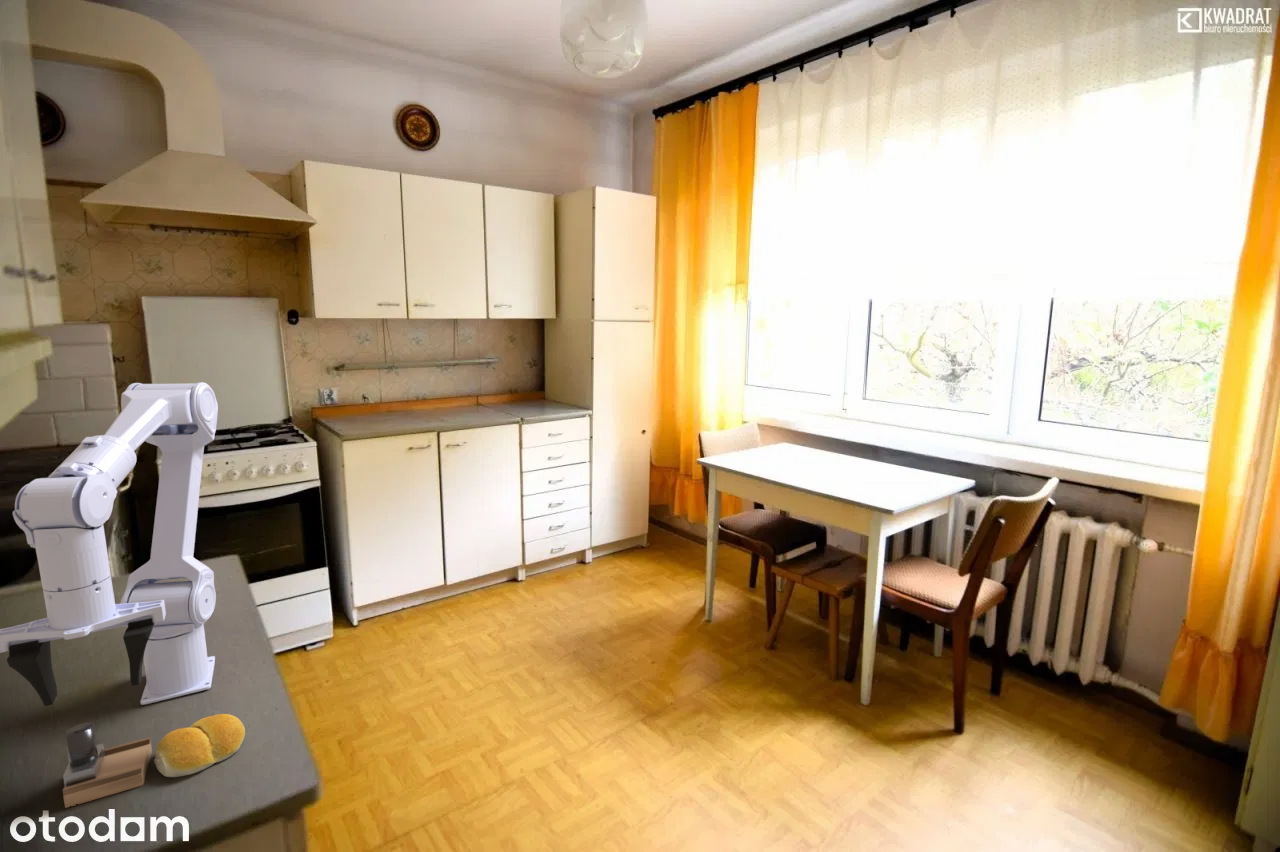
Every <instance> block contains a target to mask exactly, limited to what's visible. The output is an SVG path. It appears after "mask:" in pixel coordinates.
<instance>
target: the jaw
mask: <svg viewBox="0 0 1280 852" xmlns="http://www.w3.org/2000/svg"><path fill="white" fill-rule="evenodd" d="M64 737H65V744H66V750H67V755H68V761H69V762H68V764H67V766H66V769H65V770H64V773H63V778H62V779H63V784H64V787H67V786H71V785H75V784H78V783H82V782H85V781H89V780H92V779H96V778H97V776H98V773H99V770H100V767H101V765H102V762H103V759H104V757H105V750H104V749H105V744H104V742H102V743H100V744H98V743H97V740H96V733H95V725H94V723H92V722H84V723H83V722H82V723H80V724H76V725H73V726H72V727H70V728H69V729H67V730H66V731H65V733H64Z"/></svg>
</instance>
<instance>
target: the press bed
mask: <svg viewBox="0 0 1280 852" xmlns="http://www.w3.org/2000/svg"><path fill="white" fill-rule="evenodd" d="M104 750H105V757H104V759H103V762H102V765H101V767H100V770H99V773H98V776H97V778H96V779H92V780H89V781H85V782H82V783H78V784H75V785H71V786H67V787H65V786H63V789H62V793H63V802H64V808H65V809H67V808H70V806H71V807H73V806H77V805H76V804H78V805H81V804H83V803H88V802H91V801H93V800H97V799H101V798H104V797H108V796H112V795H114V794H118V793H122V792H124V791H127V790H132V789H134V788H139V787H141V786H144V784H145V779H146V775H147V772H148V768H149V765H150V760H151V757H152V753H153V749H152V742H151V737H150V736H148V737H145V738H140V739H136V740H133V741H129V742H124V743H121V744H118V745H115V746H110V747H105V748H104Z"/></svg>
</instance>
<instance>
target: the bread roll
mask: <svg viewBox="0 0 1280 852" xmlns="http://www.w3.org/2000/svg"><path fill="white" fill-rule="evenodd" d="M245 734H246V729H245V726H244V724H243V722H242V721H241V720H240V718H238V717H237V716H235V715H232V714H229V713H219V714H214V715H209V716H206V717H203V718H201V719H198V720H197V721H195V722H194V723H192V724H191V725H190V726H189V727H180V728H177V729H173V730H171V731H169V732H168V733H166V734H165V735H164V736H163V737H162V738H161V740H160V741H158V744H157V747H156V752H155V758H154V760H153V762H154V766H155V767H156V769H157V770H158V772H159V773H160V774H161V775H163V777H166V778H179V777H184V776H185V777H186V776H190V775H193V774H196V773H200V772H201V771H203V770H205V769H207V768H210V767H211V766H213V765H214V764H215V763H221V762H222V761H224V760H226V759H228V758H231V756H233V755H235V754H236V753H237V752H238V751H239V749H240V748H241V746H242V743H243V741H244V739H245V737H246V736H245Z"/></svg>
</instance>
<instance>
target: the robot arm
mask: <svg viewBox="0 0 1280 852" xmlns="http://www.w3.org/2000/svg"><path fill="white" fill-rule="evenodd" d="M120 407H121V410H120V413H119V414H118V415H117V417H116V418H115V419H114V421H113V422H112V423H111V425H109V427H108V428H107V430H106V431H105V433H104V434H102V435H100V434H99V435H93V436H86V437H85V438H84V439H83V440H82V441H81V442H80V444H79V445H78V446H77V447H76V448H75V449H74V451H72V452H71V454H70V455H68V456H67V457H66V458H65V460H63V461H62V462H61V464H60V465H58V466H57V467H56V468H55V470H53V472H52V473H50V474H49V475H48V476H47V477H40V478H35V479H33V480H31V481H30V482H29V483H27V484H25V485H24V486H22V487H21V488H20V490H19V491H18V493H17V494H16V497H15V502H14V510H12V517H13V519H14V521H15V523H16V525H17V526H18V527H19V529H20V530H22V531H23V532H24V534H25V536H26V537H25V538H26V542H27V545H29V546H30V548H33V549H35V553H36V558H37V563H38V569H39V575H40V582H41V586H42V588H41V589H42V591H43V592H42V593H43V598H44V604H45V610H46V617H45V618H41V619H35V620H33V621H30V622H25V623H23V624H17V625H14V626H9V627H6V628H5V627H4V628H0V653H1V654H2V653H6V652H9V653H8V657H7V658H6V662H7V666H9V668H12V670H14V671H15V672H17V673H18V674H20V675H21V676H22V677H23V678H25V680H26V681H27V682H28V683H29V684H30V685H31V686H32V688H33V689H34V691H35V692H36V693H37V695H38V696H39V698H40V700H41V702H42V704H43V706H44V707H48V706H53V704H54V702H55V700H56V699H57V696H58V689H57V688H58V687H57V682H56V678H55V674H54V673H55V672H54V671H53V670H54V669H53V665H52V653H51V651H52V650H51V641H55V640H59V639H60V640H61V639H64V640H66V641H67V640H72V639H79V638H82V637H86V636H88V635H89V634H92V633H96V632H100V631H106V630H112V629H117V628H123V627H125V631H124V633H123V636H122V639H123V642H124V646H125V649H126V653H127V656H128V663H129V675H130V676H129V677H130V683H131V687H133V686H137V685H140V684H141V681H142V679H143V665H144V670H145V678H146V683H145V686H144V689H143V692H142V696H141V699H140V705H149V704H152V703H158V702H161V701H165V700H170V699H174V698H178V697H181V696H185V695H190V694H194V693H199V692H202V691H206V690H209V689H211V688H212V684H213V683H212V682H213V677H214V676H213V675H214V671H215V663H216V656H215V655H212V656H208V651H207V650H208V649H207V643H206V634H205V626H204V624H205V623H206V622H207V621H208V620H209V619H210V618H211V616H212V615H213V613H214V610H215V607H216V602H217V601H216V600H217V593H216V588H215V574H214V573H215V572H214V571H213V570H212V569H211V568H210V567H209V566H208V565H206V564H204V563H202V561H200V560H198V559H196V558H195V557H194V553H195V543H196V534H197V533H196V532H197V523H198V511H199V501H200V491H201V480H202V472H203V471H202V470H203V461H204V452H205V451H204V450H205V446H206V445H208V444H210V443H211V442H213V441H214V440H215V434H216V431H217V424H218V423H217V422H218V412H219V405H218V401H217V398H216V393H215V392H214V390H213V388H212V387H211V386H210V385H209V384H208V383H206V382H201V381H200V382H196V383H193V382H192V383H141V382H134V383H131V384H129V385H128V386H127V388H126V389H125V391H123V392H122V393H121V396H120ZM144 442H146V443H148V444H150V445H154V446H157V447H158V448H159V449H160V451H161V462H160V471H159V479H158V489H157V497H156V505H155V514H154V522H153V533H152V539H151V541H152V542H151V548H150V559H149V560H148V561H147V562H145V563H144V564H143V565H140V567H138V568H136V570H134V571H133V572H131V573H130V574H129V576H128V580H127V582H126V583H127V584H126V587H125V590H124V593H123V595H122V597H121V599H120V602H119V603H116V602H115V600H116V599H115V594H114V588H113V582H112V581H113V580H112V574H111V569H110V568H111V567H110V560H109V554H108V547H107V540H106V534H105V533H106V532H105V527H104V524H105V523H106V521H108V520H109V519H110V517H111V516H112V512H113V507H114V501H115V499H116V497H117V494H118V490H117V488H118V487H119V486H120V484H121V483H122V482H123V481H124V480H125V478H126V477H127V476H128V475H129V474H130V472H131V471H132V470H133V469H134V468H135V466H136V463H137V460H138V459H137V455H136V454H137V453H136V450H137V449H138V448H140V446H142V444H143V443H144ZM175 579H176V580H177V579H189V580H184V581H183V580H182V581H181V580H180V581H167V582H159V581H164V580H175Z"/></svg>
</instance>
